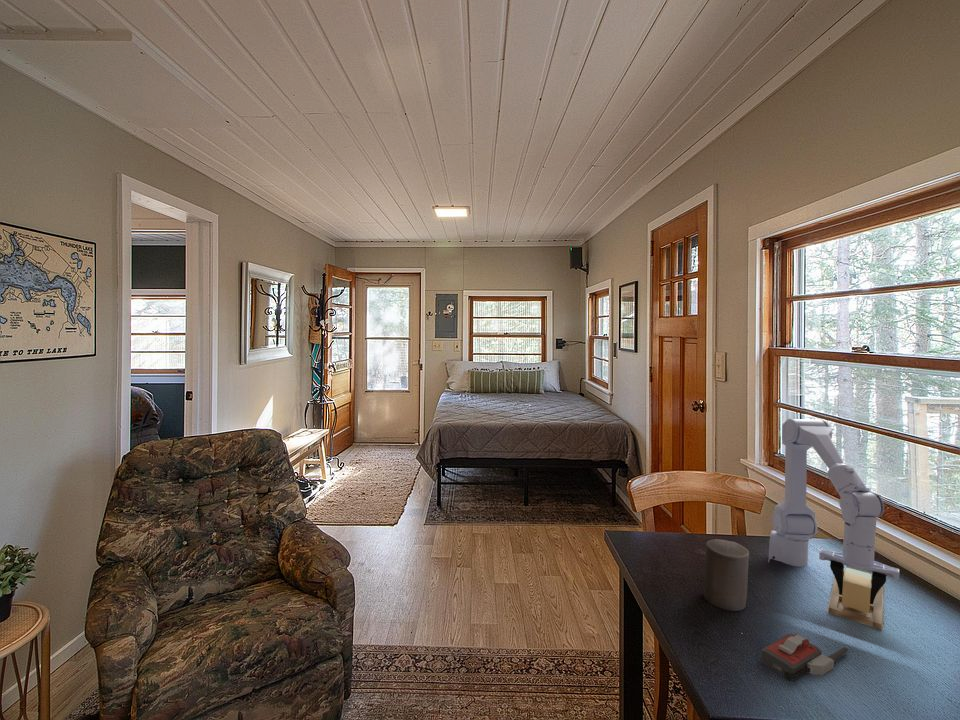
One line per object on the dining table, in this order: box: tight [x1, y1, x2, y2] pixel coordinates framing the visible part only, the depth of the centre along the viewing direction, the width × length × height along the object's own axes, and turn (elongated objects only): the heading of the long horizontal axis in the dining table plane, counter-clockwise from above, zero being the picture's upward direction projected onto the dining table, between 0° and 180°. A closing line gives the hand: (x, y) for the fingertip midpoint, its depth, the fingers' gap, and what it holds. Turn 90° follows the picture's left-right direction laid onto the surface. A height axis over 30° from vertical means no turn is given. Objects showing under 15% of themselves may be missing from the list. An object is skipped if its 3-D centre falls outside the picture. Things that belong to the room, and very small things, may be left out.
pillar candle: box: [702, 538, 750, 612], centre depth 116 cm, size 10×10×15 cm
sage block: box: [845, 566, 872, 579], centre depth 115 cm, size 5×5×6 cm
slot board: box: [826, 568, 884, 631], centre depth 115 cm, size 10×26×3 cm, turn 138°
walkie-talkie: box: [760, 633, 850, 681], centre depth 95 cm, size 9×4×20 cm
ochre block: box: [842, 572, 871, 613], centre depth 109 cm, size 5×5×6 cm
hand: (855, 597), depth 109 cm, fingers closed on ochre block, 5 cm apart
